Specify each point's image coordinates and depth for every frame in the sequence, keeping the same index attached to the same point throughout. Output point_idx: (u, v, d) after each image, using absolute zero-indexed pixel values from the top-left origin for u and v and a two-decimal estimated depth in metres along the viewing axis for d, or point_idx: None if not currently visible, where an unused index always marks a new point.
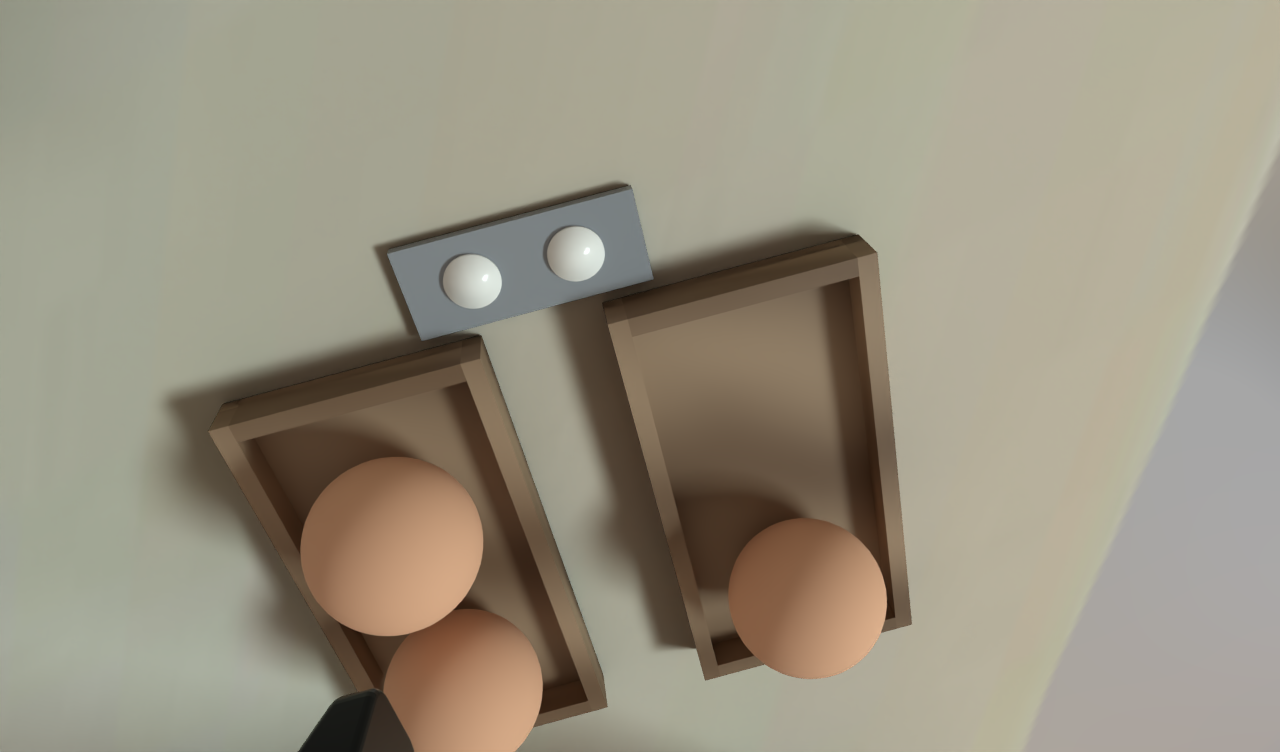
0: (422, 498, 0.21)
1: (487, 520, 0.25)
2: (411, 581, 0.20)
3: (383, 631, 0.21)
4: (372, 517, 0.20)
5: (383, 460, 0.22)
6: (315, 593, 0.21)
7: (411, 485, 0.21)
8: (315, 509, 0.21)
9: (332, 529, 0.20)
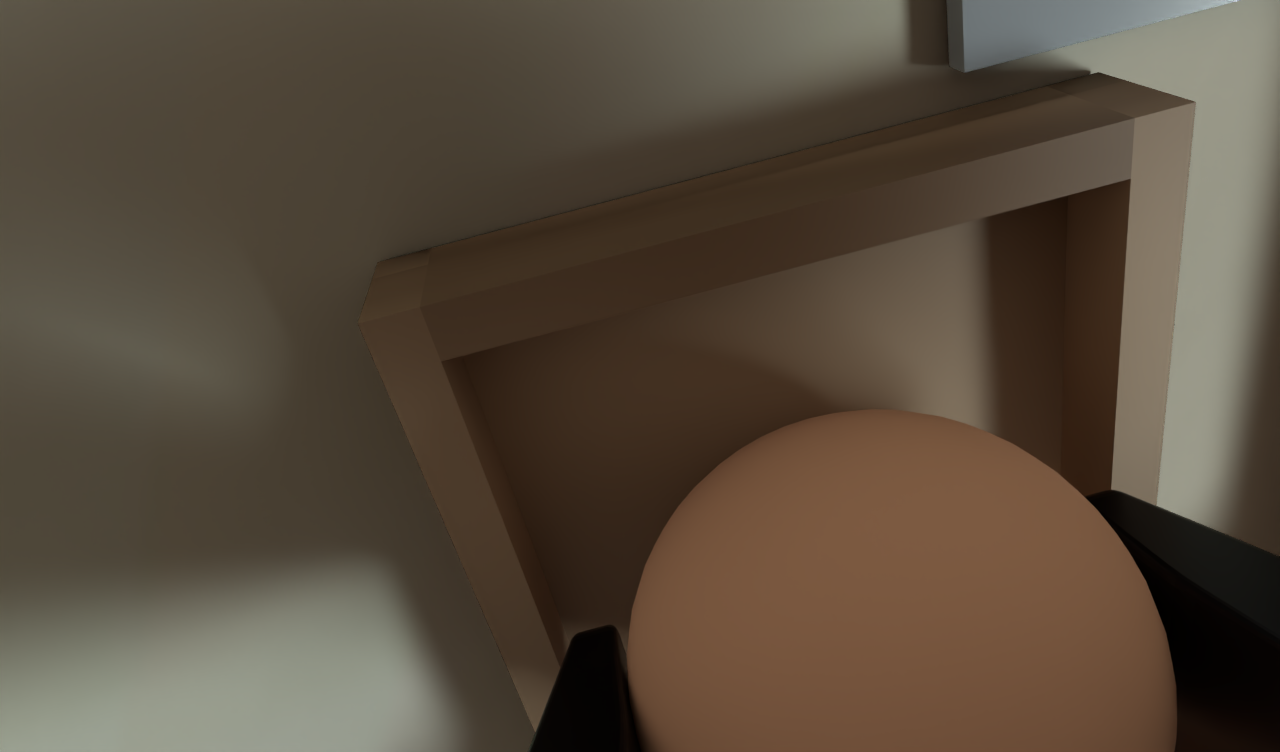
0: (1079, 536, 0.06)
1: None
2: None
3: None
4: (972, 607, 0.06)
5: (872, 417, 0.07)
6: None
7: (1031, 492, 0.06)
8: (710, 569, 0.07)
9: (820, 648, 0.06)
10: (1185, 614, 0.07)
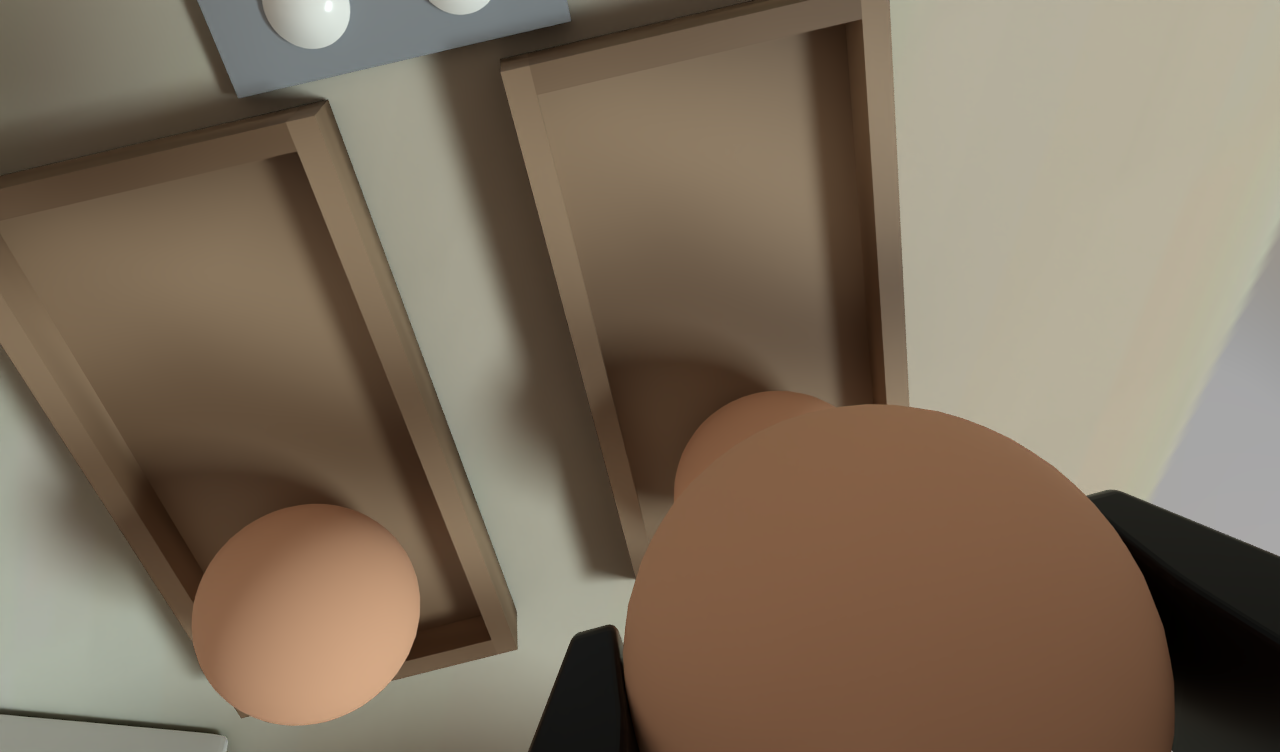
0: (1077, 530, 0.06)
1: (348, 381, 0.18)
2: None
3: None
4: (970, 602, 0.06)
5: (869, 411, 0.07)
6: None
7: (1028, 487, 0.06)
8: (706, 564, 0.06)
9: (816, 641, 0.06)
10: (1185, 614, 0.07)
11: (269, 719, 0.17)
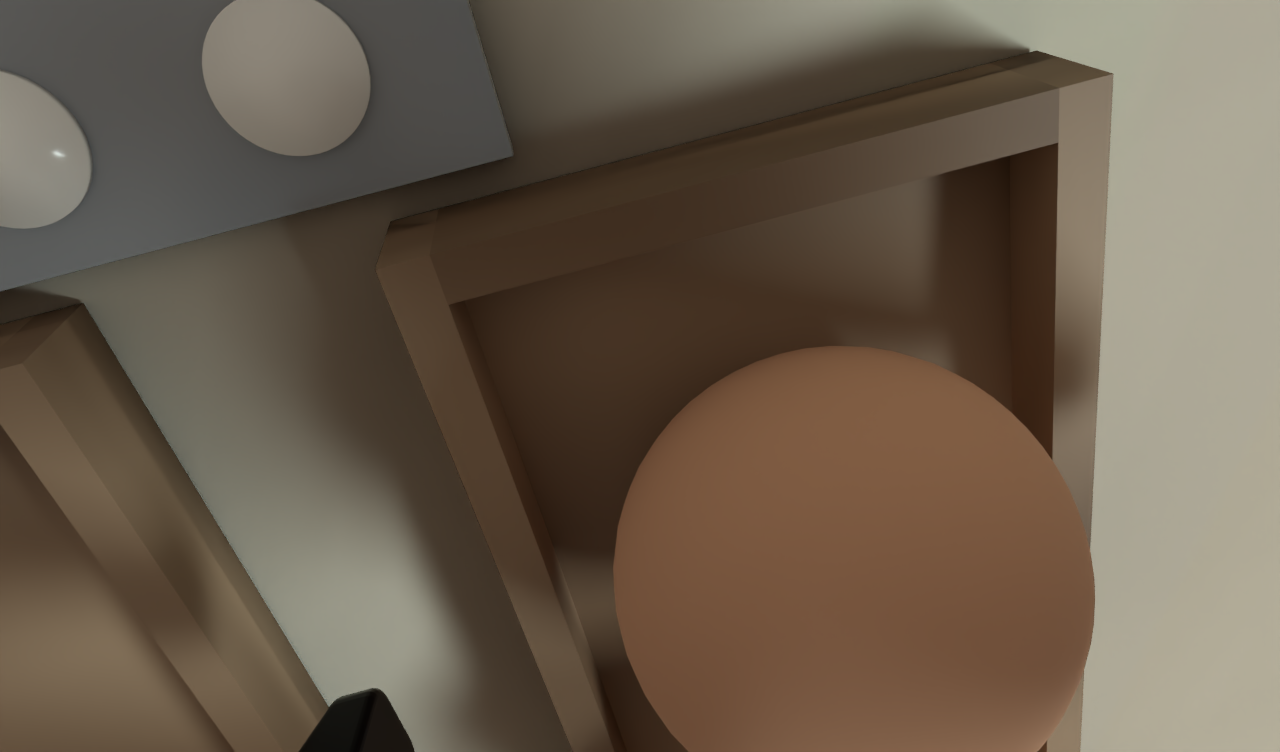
0: (1005, 443, 0.07)
1: (179, 720, 0.11)
2: (1025, 690, 0.07)
3: None
4: (908, 497, 0.07)
5: (830, 349, 0.08)
6: (699, 719, 0.07)
7: (964, 407, 0.07)
8: (685, 477, 0.07)
9: (777, 533, 0.07)
10: None
11: None
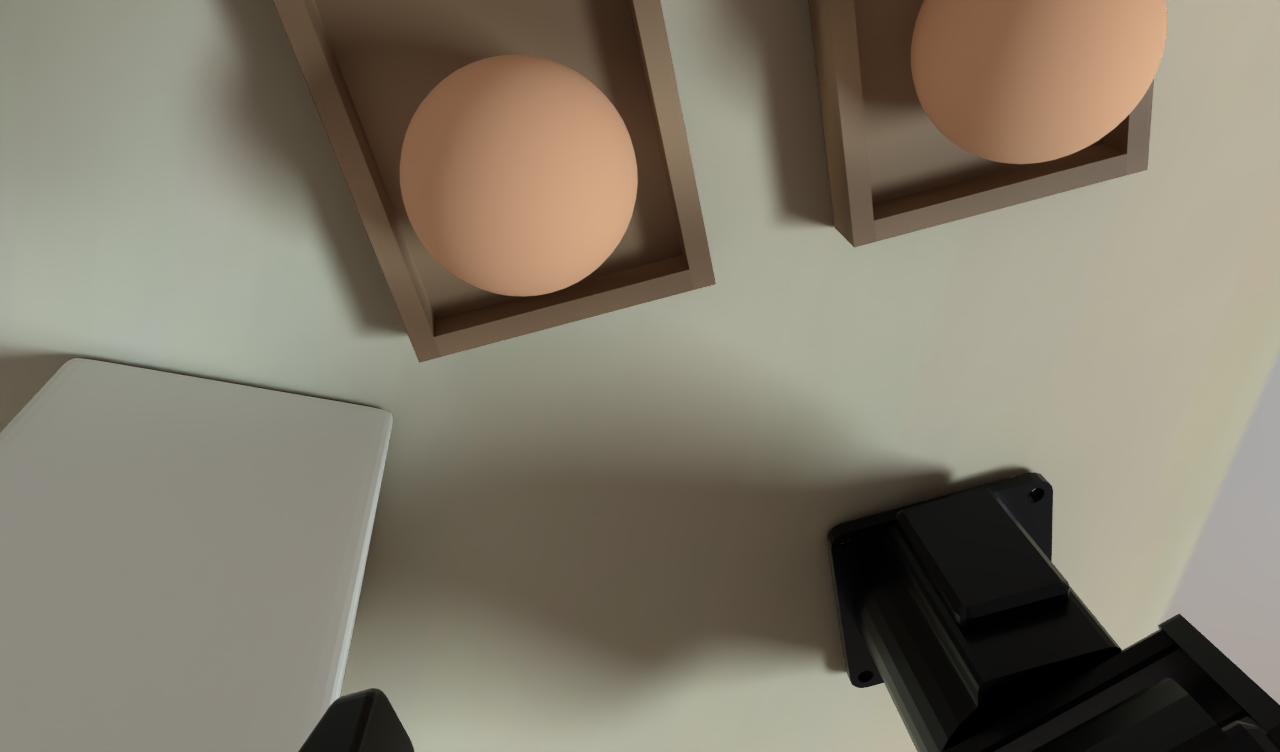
0: None
1: None
2: None
3: None
4: None
5: None
6: None
7: None
8: None
9: None
10: None
11: (494, 261, 0.15)
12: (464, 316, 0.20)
